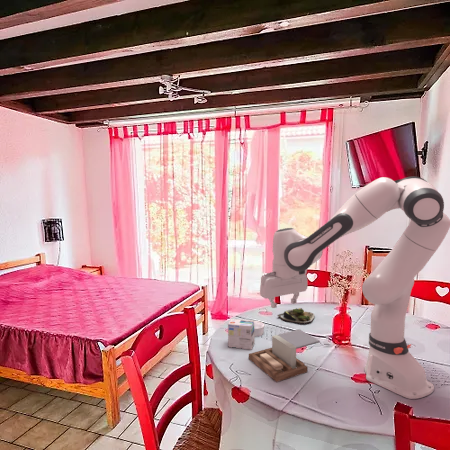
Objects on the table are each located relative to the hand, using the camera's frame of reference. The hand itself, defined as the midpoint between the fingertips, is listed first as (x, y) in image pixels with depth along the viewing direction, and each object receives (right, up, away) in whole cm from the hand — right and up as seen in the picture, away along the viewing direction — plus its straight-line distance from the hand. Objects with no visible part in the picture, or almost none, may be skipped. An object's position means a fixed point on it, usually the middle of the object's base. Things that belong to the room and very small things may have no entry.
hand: (283, 305), depth 130 cm
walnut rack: (-3, -23, +1) cm, 23 cm away
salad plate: (+15, -19, +48) cm, 54 cm away
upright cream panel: (0, -23, +2) cm, 23 cm away
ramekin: (-8, -21, +30) cm, 38 cm away
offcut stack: (-5, -24, -1) cm, 24 cm away
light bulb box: (-16, -22, +18) cm, 32 cm away
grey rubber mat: (+10, -21, +23) cm, 32 cm away
